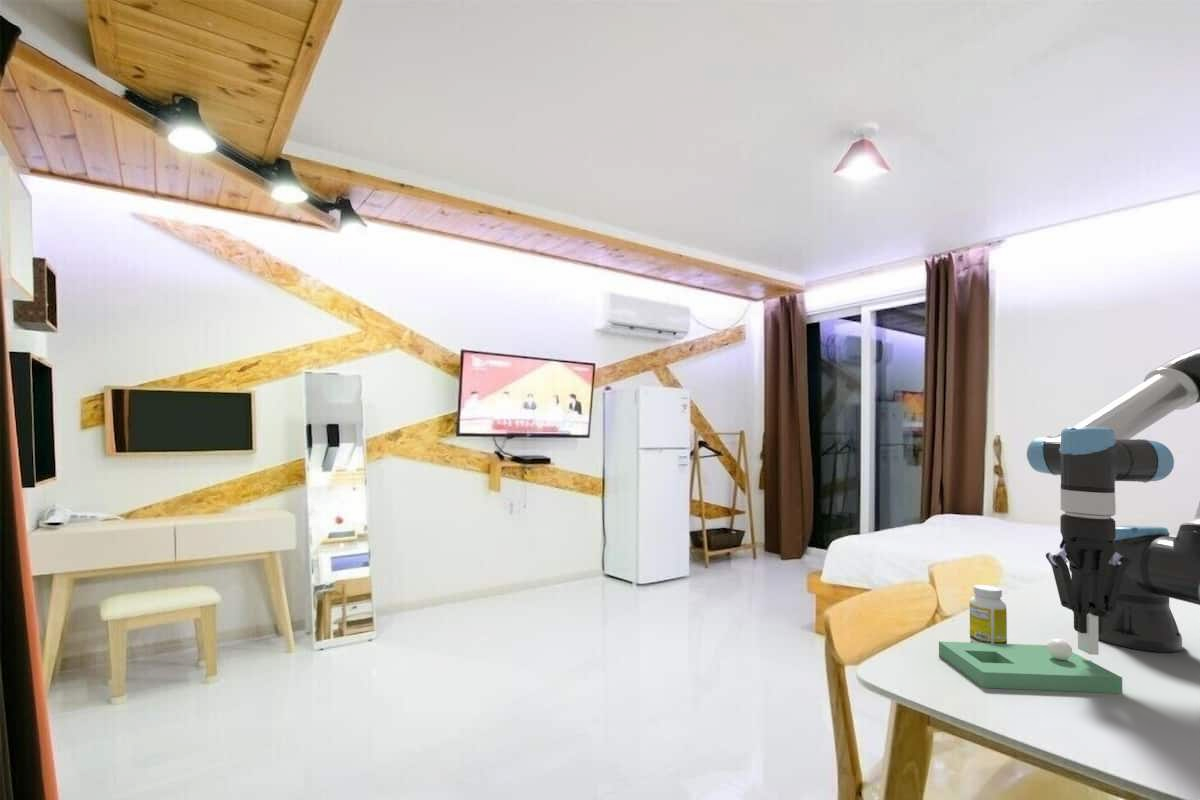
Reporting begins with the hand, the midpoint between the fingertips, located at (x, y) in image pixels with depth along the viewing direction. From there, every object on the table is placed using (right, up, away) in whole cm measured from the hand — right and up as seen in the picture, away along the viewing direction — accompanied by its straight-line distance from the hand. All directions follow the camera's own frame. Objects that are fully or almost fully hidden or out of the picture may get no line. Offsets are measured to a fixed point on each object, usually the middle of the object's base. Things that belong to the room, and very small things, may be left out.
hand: (1088, 651), depth 105 cm
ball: (-5, 0, 0) cm, 5 cm away
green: (-11, -4, 0) cm, 11 cm away
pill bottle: (-8, -5, +14) cm, 17 cm away
